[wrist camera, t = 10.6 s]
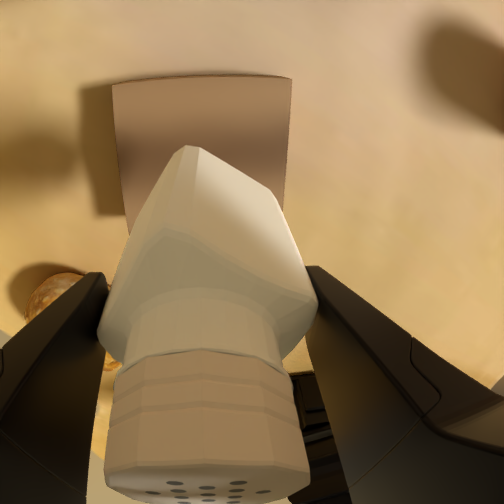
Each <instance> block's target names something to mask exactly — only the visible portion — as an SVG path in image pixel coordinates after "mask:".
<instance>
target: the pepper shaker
mask: <svg viewBox="0 0 504 504" xmlns="http://www.w3.org/2000/svg"><path fill="white" fill-rule="evenodd" d="M318 305H319V300H318V298H317V295H316V293H315V290H314V288H313V285H312V283H311V280H310V278H309V275H308V273H307V270H306V268H305V265H304V263H303V260H302V258H301V256H300V253H299V251H298V248H297V246H296V243H295V241H294V239H293V236H292V234H291V232H290V229H289V227H288V225H287V222H286V220H285V217H284V215H283V213H282V210H281V208H280V206H279V204H278V201H277V199H276V198H275V196H274V195H273V193H272V192H271V190H269V189H268V188H266V187H265V186H263V185H261V184H260V183H258V182H257V181H255V180H253V179H252V178H250V177H249V176H247V175H245V174H244V173H242V172H241V171H239V170H237V169H236V168H234V167H232V166H231V165H229V164H227V163H226V162H224V161H222V160H221V159H219V158H217V157H216V156H214V155H212V154H211V153H209V152H207V151H206V150H204V149H202V148H200V147H195V146H188V145H185V146H184V147H182V148H181V149H179V150H178V151H177V152H175V153H174V154H173V156H172V158H171V159H170V161H169V162H168V164H167V166H166V167H165V169H164V171H163V172H162V174H161V176H160V178H159V179H158V181H157V183H156V184H155V186H154V188H153V190H152V191H151V193H150V195H149V197H148V199H147V200H146V202H145V204H144V206H143V208H142V209H141V211H140V213H139V215H138V217H137V219H136V221H135V223H134V226H133V228H132V231H131V233H130V236H129V238H128V241H127V243H126V246H125V249H124V251H123V254H122V257H121V259H120V262H119V265H118V268H117V270H116V273H115V276H114V279H113V282H112V285H111V288H110V290H109V293H108V296H107V299H106V303H105V306H104V309H103V312H102V315H101V318H100V321H99V325H98V328H97V336H98V339H99V342H100V344H101V345H102V346H103V347H104V348H105V350H106V351H107V352H108V353H109V354H110V355H111V356H112V358H114V359H115V360H116V361H118V362H120V363H121V364H123V366H122V367H121V368H120V369H119V370H118V372H117V375H116V378H115V381H114V385H113V390H114V395H113V405H112V408H111V414H110V421H109V430H108V436H107V444H106V453H105V463H104V475H105V482H106V485H107V486H108V487H109V488H111V489H113V490H115V491H117V492H119V493H121V494H123V495H125V496H127V497H129V498H131V499H134V500H137V501H141V502H145V503H150V504H264V503H268V502H272V501H275V500H280V499H283V498H286V497H288V496H290V495H292V494H293V493H295V492H297V491H299V490H301V489H303V488H304V487H306V486H308V485H309V484H310V468H309V463H308V459H307V454H306V450H305V446H304V441H303V437H302V432H301V429H300V425H299V419H298V415H297V411H296V406H295V404H294V397H293V384H292V381H291V379H290V377H289V374H288V372H287V371H286V370H285V369H284V368H283V365H282V360H283V359H284V358H285V357H286V356H287V355H288V354H289V353H290V352H291V351H292V350H293V349H294V348H295V346H296V345H297V344H298V343H299V341H300V340H301V339H302V338H303V336H304V335H305V334H306V333H307V331H308V330H309V329H310V328H311V326H312V325H313V323H314V319H315V316H316V312H317V309H318Z"/></svg>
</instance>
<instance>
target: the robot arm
mask: <svg viewBox="0 0 504 504" xmlns="http://www.w3.org/2000/svg"><path fill="white" fill-rule="evenodd" d="M305 268H306V270H307V273H308V275H309V278H310V280H311V283H312V285H313V288H314V290H315V293H316V295H317V298H318V300H319V305H318V309H317V312H316V316H315V319H314V323H313V325H312V326H311V328H310V329H309V330H308V331H307V333H306V334H305V339H306V344H307V348H308V352H309V356H310V359H311V362H312V365H313V369H314V372H315V374H311V375H303V376H294V377H290V379H291V381H292V384H293V397H294V404H295V406H296V411H297V415H298V419H299V425H300V429H301V432H302V437H303V441H304V446H305V450H306V454H307V459H308V463H309V468H310V484H309V485H308V486H306V487H304V488H303V489H301V490H299V491H297V492H295V493H293V494H292V495H290V496H288V500H289V501H290V502H291V503H292V504H504V396H501V395H499V394H496V393H495V392H493V391H491V390H490V389H488V388H487V387H485V386H484V385H482V384H481V383H479V382H478V381H476V380H474V379H473V378H471V377H470V376H468V375H467V374H465V373H464V372H462V371H461V370H459V369H458V368H456V367H455V366H453V365H452V364H450V363H449V362H447V361H446V360H444V359H443V358H441V357H440V356H438V355H437V354H436V353H434V352H433V351H432V350H430V349H429V348H428V347H426V346H425V345H424V344H422V343H421V342H420V341H418V340H417V339H416V338H414V337H412V336H411V335H410V334H409V333H408V332H407V331H405V330H404V329H403V328H401V327H400V326H399V325H397V324H396V323H395V322H393V321H392V320H391V319H389V318H388V317H387V316H385V315H384V314H383V313H382V312H380V311H379V310H378V309H376V308H375V307H374V306H372V305H371V304H370V303H368V302H367V301H366V300H364V299H363V298H362V297H360V296H359V295H358V294H356V293H355V292H353V291H352V290H351V289H349V288H348V287H347V286H345V285H344V284H343V283H341V282H340V281H339V280H337V279H336V278H335V277H333V276H332V275H330V274H329V273H328V272H326V271H325V270H324V269H322V268H321V267H319V266H305ZM108 293H109V289H108V285H107V282H106V278H105V275H104V274H103V273H102V272H89V273H87V274H86V275H85V276H84V277H82V278H81V279H80V280H79V281H77V282H76V283H75V284H74V285H72V286H71V287H70V288H69V289H68V290H66V291H65V292H64V293H63V294H62V295H60V296H59V297H58V298H57V299H56V300H54V301H53V302H52V303H51V304H50V305H48V306H47V307H46V308H45V309H44V310H43V311H42V312H40V313H39V314H38V315H37V316H36V317H35V318H33V319H32V320H31V321H30V322H29V323H28V324H27V325H26V326H24V327H23V328H22V329H21V330H20V331H19V332H18V333H17V334H16V335H14V336H13V337H12V338H11V339H10V340H9V341H8V342H7V343H6V344H5V345H4V346H3V347H2V349H0V504H86V497H85V496H86V495H87V481H88V468H89V459H90V449H91V441H92V433H93V426H94V419H95V412H96V406H97V399H98V393H99V388H100V382H101V377H102V371H103V366H104V361H105V356H106V350H105V348H104V347H103V346H102V345H101V344H100V342H99V339H98V336H97V328H98V325H99V321H100V318H101V315H102V312H103V309H104V306H105V303H106V299H107V296H108Z"/></svg>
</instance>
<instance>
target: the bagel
mask: <svg viewBox="0 0 504 504" xmlns="http://www.w3.org/2000/svg"><path fill="white" fill-rule="evenodd" d="M82 277H84V276H81V275H78V274H75V273H70V272H67V273H59V274H56V275H53V276H51V277H49V278H48V279H47V280H45V281H44V282H43V283H42V284H41V285H40V286H39V287H38V288H37V289H36V290H35V291H34V292H33V293H32V295H31V297H30V299H29V300H28V303H27V306H26V311H25V315H24V317H25V321H26V323H27V324H28V323H29V322H30V321H31V320H32V319H33V318H35V317H36V316H37V315H38V314H39V313H40V312H42V311H43V310H44V309H45V308H46V307H47V306H48V305H50V304H51V303H52V302H53V301H54V300H56V299H57V298H58V297H59V296H60V295H62V294H63V293H64V292H65V291H66V290H68V289H69V288H70V287H71V286H72V285H74V284H75V283H76V282H77V281H79V280H80V279H81V278H82ZM110 288H111V287H110V286H108V289H109V290H110ZM119 365H121V363H120V362H118V361H116V360H115V359H114V358H112V356H111V355H110V354H109V353H108V352H107V351H106V356H105V361H104V366H103V370H104V371H112V370H113V369H115V368H117V367H118V366H119Z"/></svg>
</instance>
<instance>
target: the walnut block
mask: <svg viewBox="0 0 504 504" xmlns="http://www.w3.org/2000/svg"><path fill="white" fill-rule="evenodd" d="M291 91H292V79H289V78H285V77H281V76H264V75H196V76H177V77H163V78H151V79H141V80H133V81H126V82H122V83H118V84H115V85H112V97H113V113H114V125H115V136H116V146H117V156H118V164H119V172H120V180H121V187H122V194H123V201H124V208H125V214H126V220H127V226H128V232H129V236H130V233H131V231H132V228H133V226H134V223H135V221H136V219H137V217H138V215H139V213H140V211H141V209H142V208H143V206H144V204H145V202H146V200H147V199H148V197H149V195H150V193H151V191H152V190H153V188H154V186H155V184H156V183H157V181H158V179H159V178H160V176H161V174H162V172H163V171H164V169H165V167H166V166H167V164H168V162H169V161H170V159H171V158H172V156H173V154H174V153H175V152H177V151H178V150H179V149H181V148H182V147H184V146H185V145H188V146H195V147H200V148H202V149H204V150H206V151H207V152H209V153H211V154H212V155H214V156H216V157H217V158H219V159H221V160H222V161H224V162H226V163H227V164H229V165H231V166H232V167H234V168H236V169H237V170H239V171H241V172H242V173H244V174H245V175H247V176H249V177H250V178H252V179H253V180H255V181H257V182H258V183H260V184H261V185H263V186H265V187H266V188H268V189H269V190H271V192H272V193H273V195H274V196H275V198H276V199H277V201H278V204H279V206H280V208H281V210H282V212H283V201H284V189H285V176H286V163H287V150H288V136H289V122H290V107H291Z"/></svg>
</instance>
